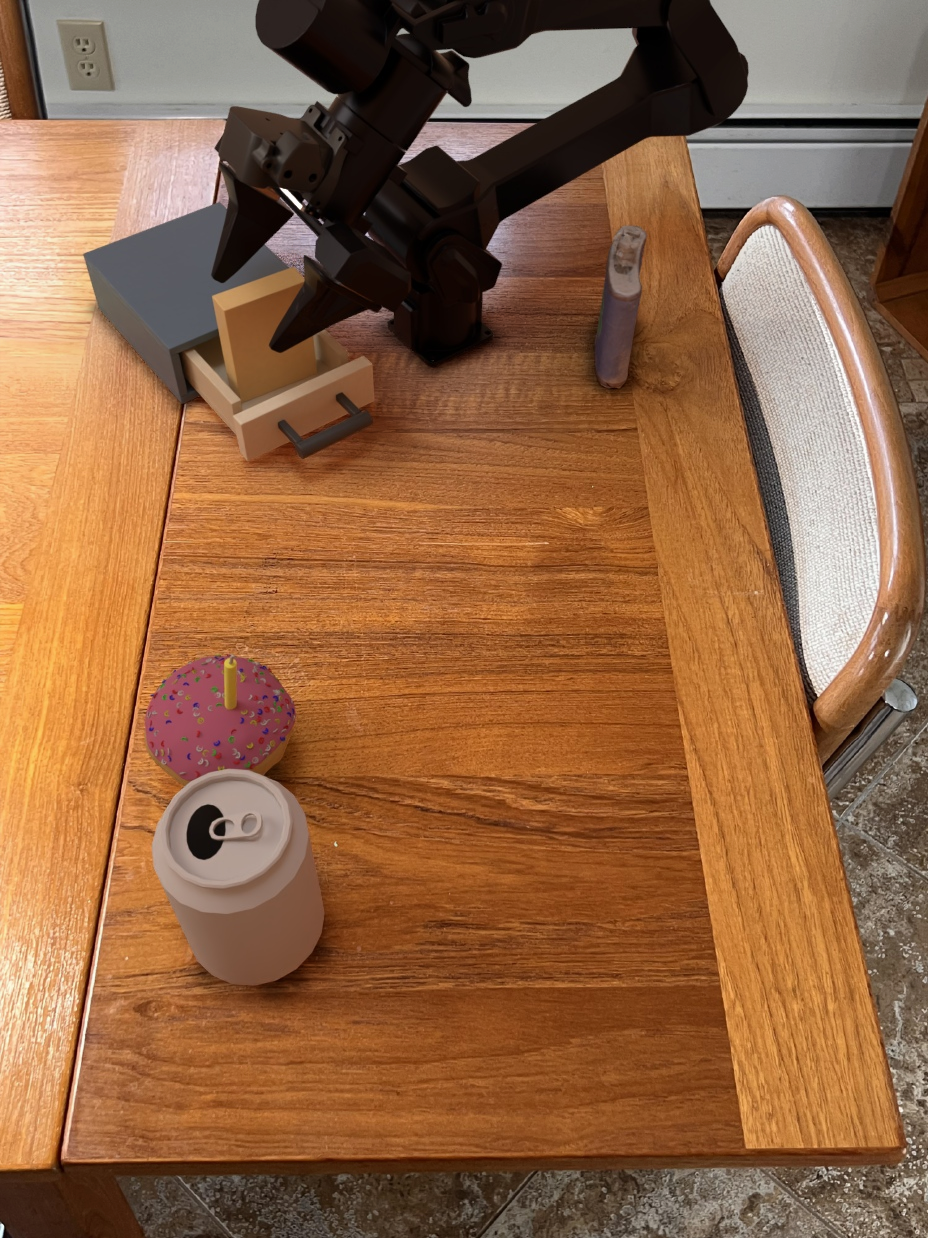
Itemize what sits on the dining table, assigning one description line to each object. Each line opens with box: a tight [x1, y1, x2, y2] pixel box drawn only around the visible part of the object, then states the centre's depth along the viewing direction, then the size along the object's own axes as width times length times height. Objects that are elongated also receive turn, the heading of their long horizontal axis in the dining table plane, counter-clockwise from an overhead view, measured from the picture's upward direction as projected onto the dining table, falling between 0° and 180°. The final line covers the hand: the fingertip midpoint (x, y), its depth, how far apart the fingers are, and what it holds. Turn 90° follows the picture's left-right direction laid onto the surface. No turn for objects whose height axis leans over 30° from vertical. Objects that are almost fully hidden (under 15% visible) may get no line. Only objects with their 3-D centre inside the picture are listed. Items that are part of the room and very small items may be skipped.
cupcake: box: [144, 653, 297, 787], centre depth 65 cm, size 9×8×12 cm
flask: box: [593, 224, 648, 389], centre depth 89 cm, size 9×3×11 cm, turn 172°
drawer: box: [179, 329, 375, 462], centre depth 87 cm, size 17×11×4 cm, turn 37°
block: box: [212, 266, 317, 403], centre depth 85 cm, size 6×2×8 cm, turn 123°
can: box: [151, 769, 325, 987], centre depth 59 cm, size 8×8×12 cm
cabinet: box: [82, 201, 290, 405], centre depth 93 cm, size 14×12×5 cm
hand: (244, 314), depth 82 cm, fingers open, 9 cm apart
